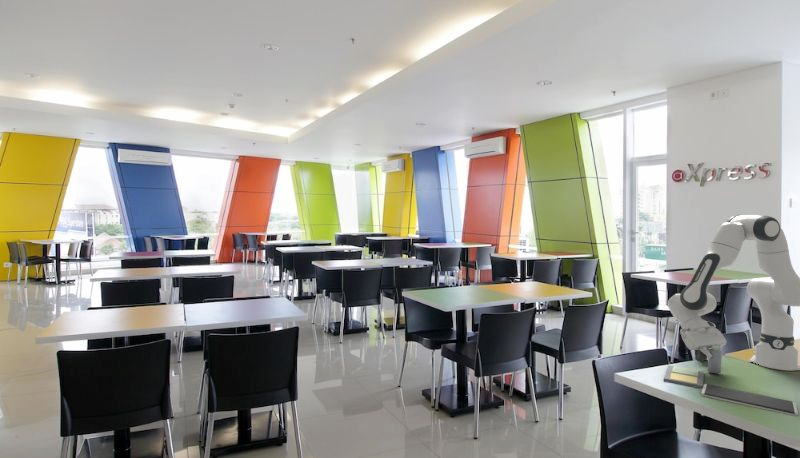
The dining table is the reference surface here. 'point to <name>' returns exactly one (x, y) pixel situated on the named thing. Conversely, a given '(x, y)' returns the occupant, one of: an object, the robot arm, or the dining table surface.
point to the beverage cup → (700, 354)
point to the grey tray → (750, 399)
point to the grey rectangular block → (715, 360)
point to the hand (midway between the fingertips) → (716, 356)
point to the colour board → (684, 376)
